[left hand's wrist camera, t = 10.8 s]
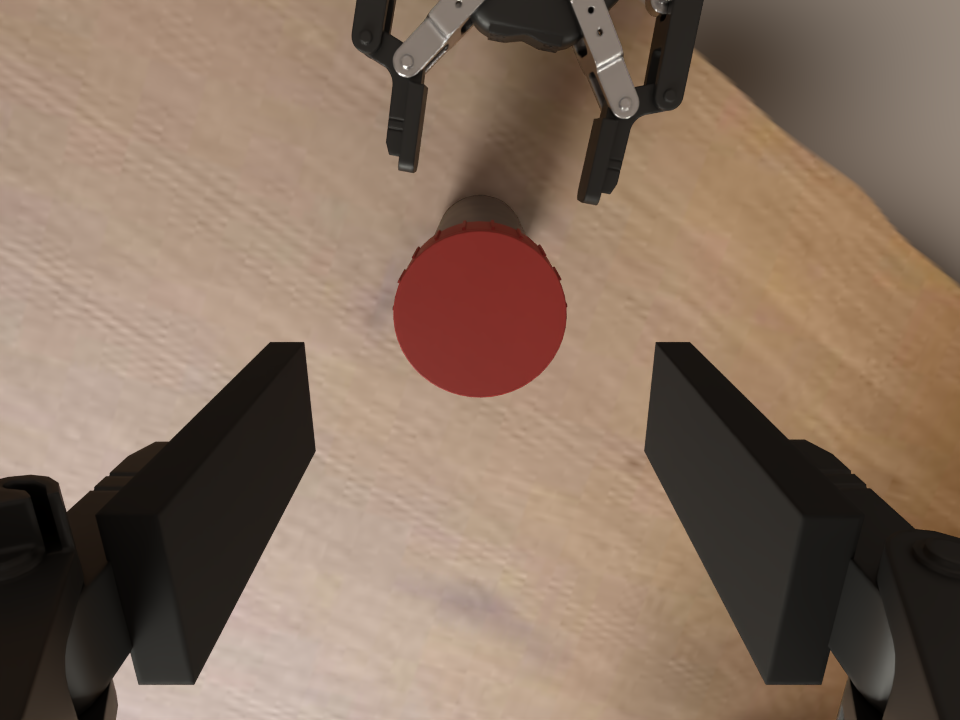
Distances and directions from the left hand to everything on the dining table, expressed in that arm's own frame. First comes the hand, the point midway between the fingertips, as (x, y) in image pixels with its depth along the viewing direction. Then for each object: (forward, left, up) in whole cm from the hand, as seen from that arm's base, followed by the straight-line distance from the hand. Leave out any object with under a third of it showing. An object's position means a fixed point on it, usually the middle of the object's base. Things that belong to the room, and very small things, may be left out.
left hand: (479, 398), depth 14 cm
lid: (0, 0, -7) cm, 7 cm away
